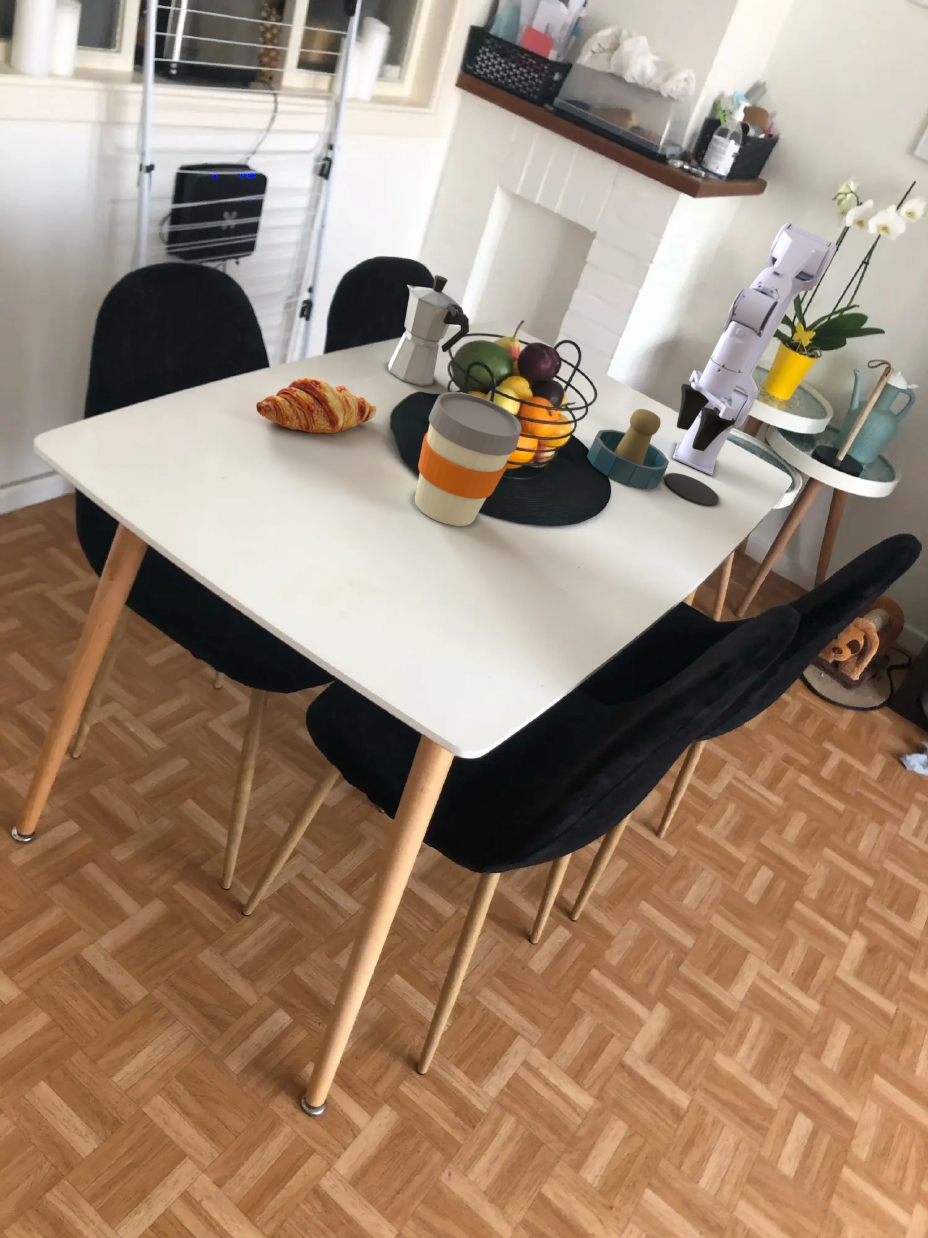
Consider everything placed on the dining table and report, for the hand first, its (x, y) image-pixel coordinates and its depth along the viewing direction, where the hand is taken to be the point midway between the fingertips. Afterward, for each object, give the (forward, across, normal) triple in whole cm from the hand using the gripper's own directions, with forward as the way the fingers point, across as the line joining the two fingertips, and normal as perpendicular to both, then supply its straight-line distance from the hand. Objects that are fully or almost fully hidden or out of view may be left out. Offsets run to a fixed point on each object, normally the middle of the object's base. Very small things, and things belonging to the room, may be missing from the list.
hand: (689, 438), depth 170 cm
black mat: (+10, -3, +7) cm, 13 cm away
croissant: (+10, +4, -62) cm, 63 cm away
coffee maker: (+10, -24, -42) cm, 50 cm away
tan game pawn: (+10, -5, -6) cm, 13 cm away
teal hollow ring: (+10, -5, -6) cm, 13 cm away
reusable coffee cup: (+10, +23, -45) cm, 51 cm away
